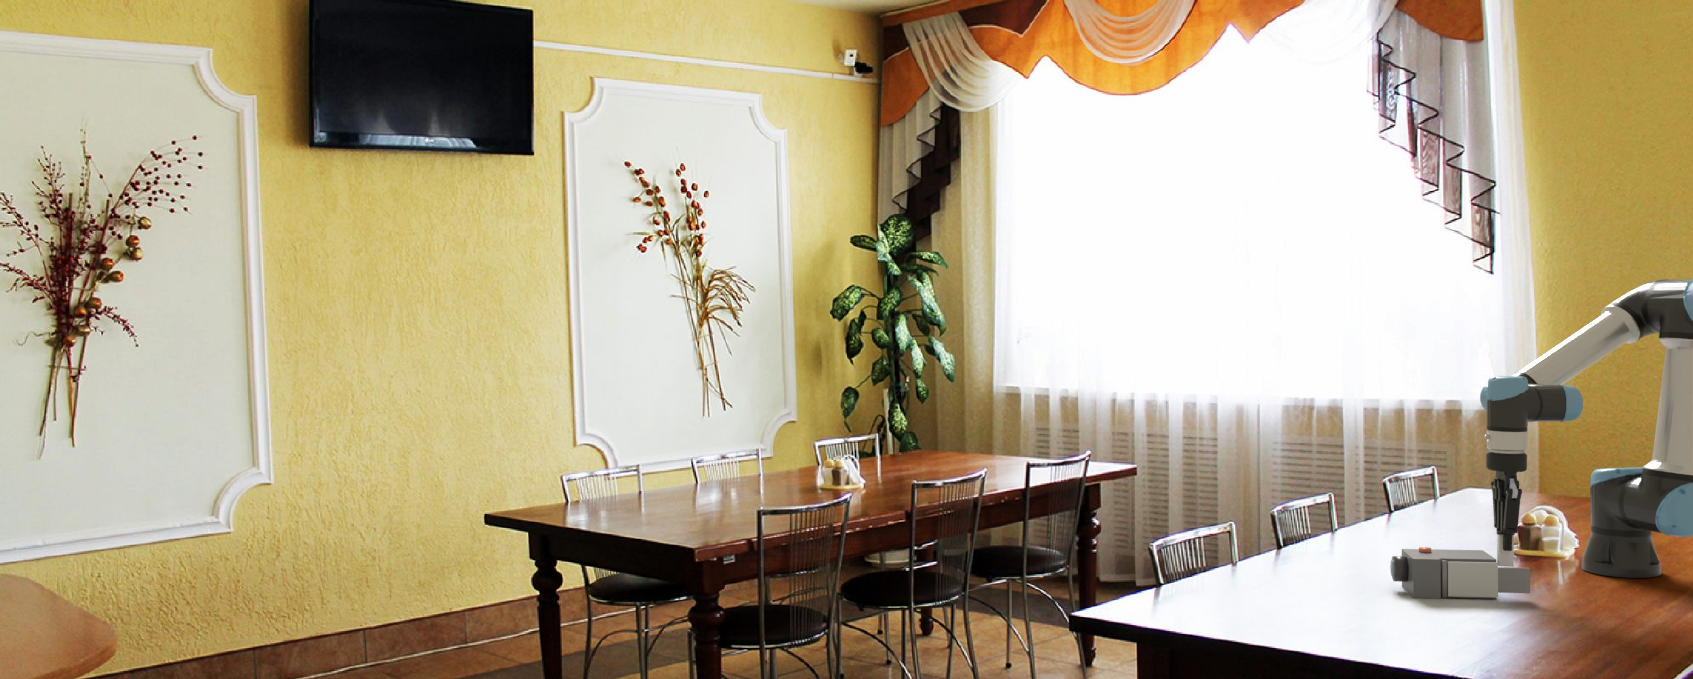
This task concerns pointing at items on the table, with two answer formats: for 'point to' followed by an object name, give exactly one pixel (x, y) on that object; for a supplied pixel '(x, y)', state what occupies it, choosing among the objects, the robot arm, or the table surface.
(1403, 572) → the housing
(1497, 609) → the table surface
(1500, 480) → the robot arm
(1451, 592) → the side door
